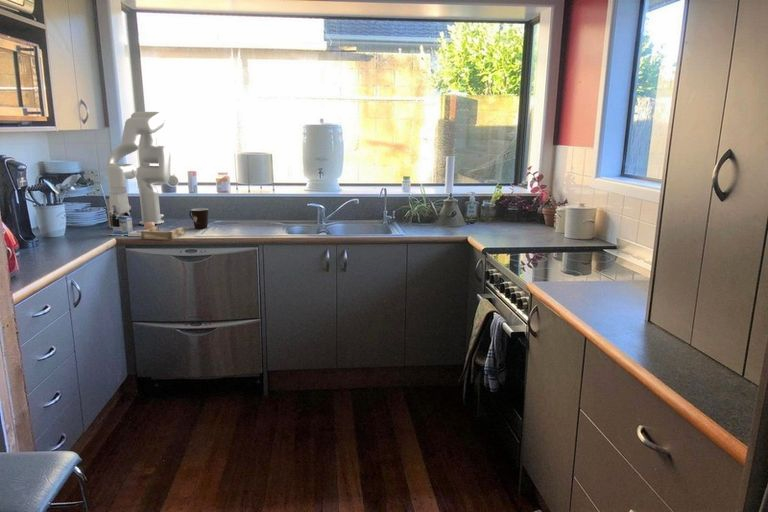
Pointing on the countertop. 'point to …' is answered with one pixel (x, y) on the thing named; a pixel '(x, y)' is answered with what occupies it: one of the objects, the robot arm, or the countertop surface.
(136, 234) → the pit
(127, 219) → the medicine box
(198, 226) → the coffee mug
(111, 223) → the coffee box
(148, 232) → the cubby
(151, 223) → the peach rounded capsule
